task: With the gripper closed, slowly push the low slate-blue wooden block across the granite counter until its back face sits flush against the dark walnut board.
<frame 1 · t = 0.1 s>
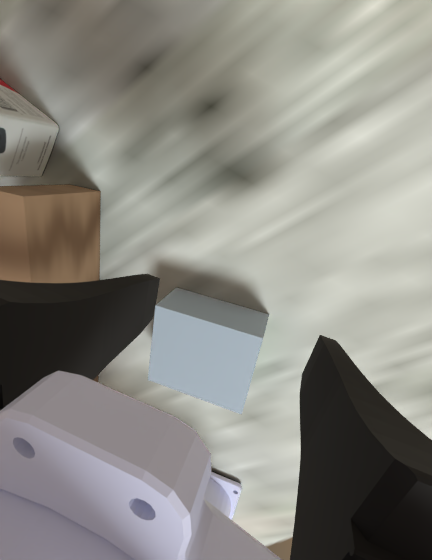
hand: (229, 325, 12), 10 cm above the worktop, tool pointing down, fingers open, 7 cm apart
ink box: (14, 121, 23), on the worktop
slate block: (214, 334, 25), on the worktop
walnut board: (85, 295, 27), on the worktop
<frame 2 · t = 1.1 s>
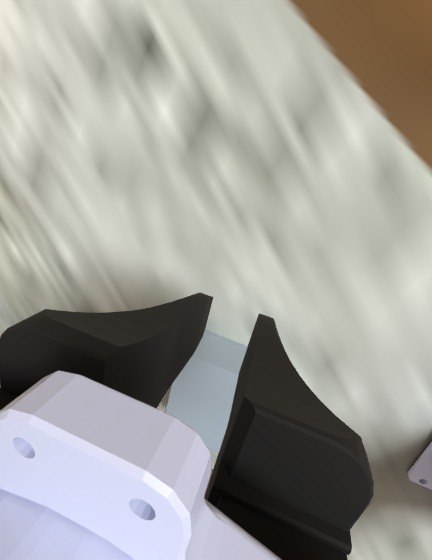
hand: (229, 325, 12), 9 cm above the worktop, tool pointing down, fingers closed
slate block: (225, 376, 25), on the worktop
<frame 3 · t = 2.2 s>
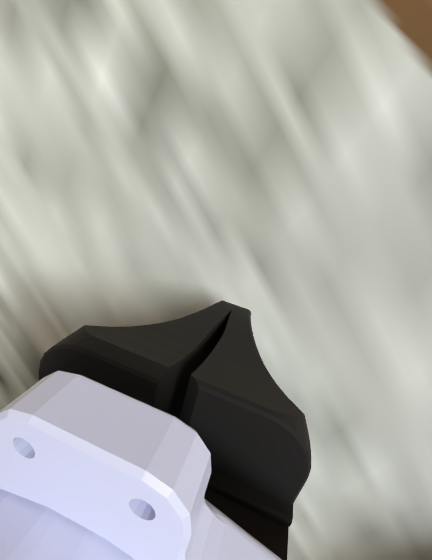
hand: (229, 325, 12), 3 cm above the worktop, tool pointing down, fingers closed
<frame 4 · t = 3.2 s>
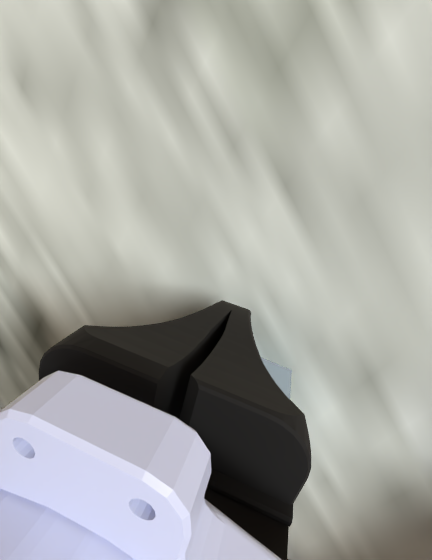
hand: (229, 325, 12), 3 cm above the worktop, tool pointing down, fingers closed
slate block: (214, 393, 18), on the worktop
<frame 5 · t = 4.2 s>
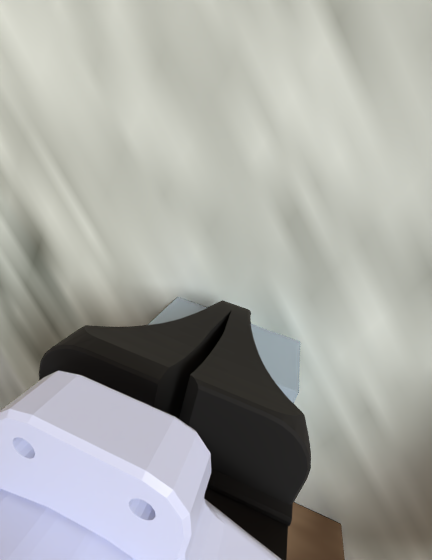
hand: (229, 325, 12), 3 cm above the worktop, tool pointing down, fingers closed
slate block: (219, 373, 17), on the worktop
walnut board: (191, 470, 20), on the worktop
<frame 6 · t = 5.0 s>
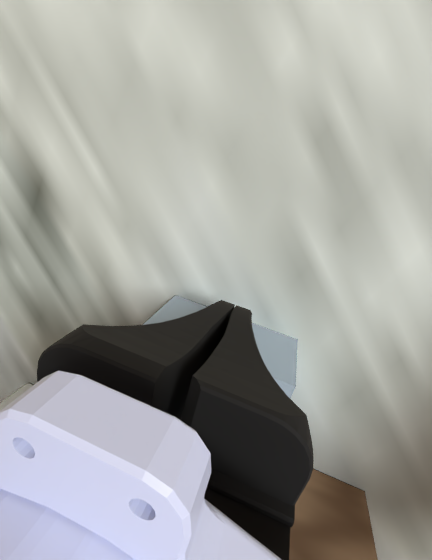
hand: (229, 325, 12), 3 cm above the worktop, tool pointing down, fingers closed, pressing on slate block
slate block: (218, 369, 17), on the worktop, touching gripper, walnut board
walnut board: (201, 437, 19), on the worktop
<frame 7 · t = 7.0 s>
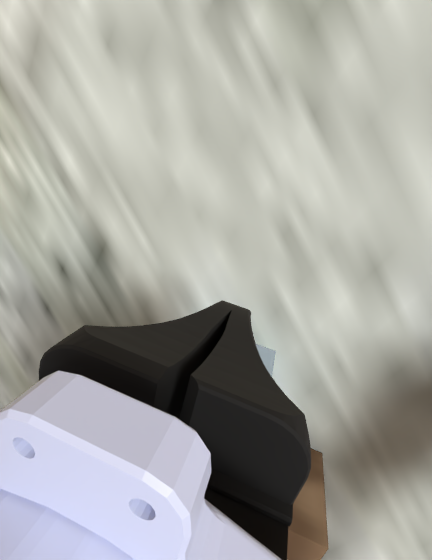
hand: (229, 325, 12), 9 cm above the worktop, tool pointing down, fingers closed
slate block: (223, 370, 25), on the worktop
walnut board: (210, 418, 27), on the worktop
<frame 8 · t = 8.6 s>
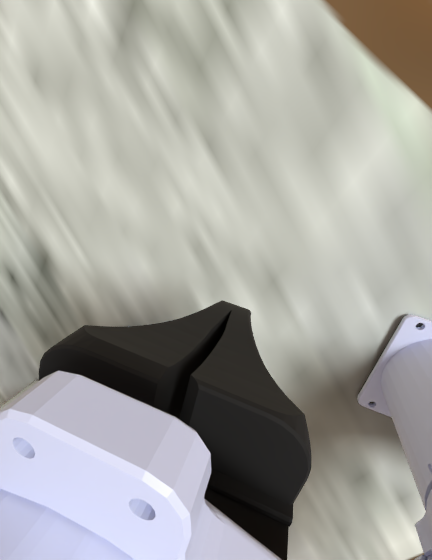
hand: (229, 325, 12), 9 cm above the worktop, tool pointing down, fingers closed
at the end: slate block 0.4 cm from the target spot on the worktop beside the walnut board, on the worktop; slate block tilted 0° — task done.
